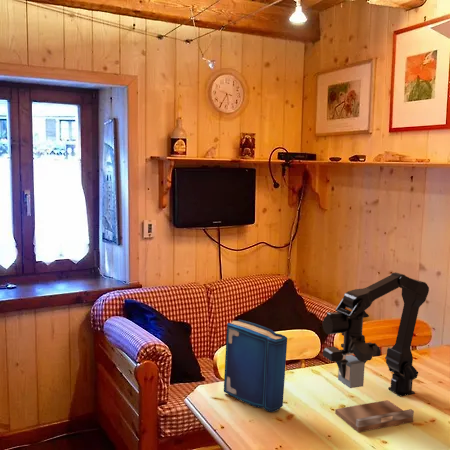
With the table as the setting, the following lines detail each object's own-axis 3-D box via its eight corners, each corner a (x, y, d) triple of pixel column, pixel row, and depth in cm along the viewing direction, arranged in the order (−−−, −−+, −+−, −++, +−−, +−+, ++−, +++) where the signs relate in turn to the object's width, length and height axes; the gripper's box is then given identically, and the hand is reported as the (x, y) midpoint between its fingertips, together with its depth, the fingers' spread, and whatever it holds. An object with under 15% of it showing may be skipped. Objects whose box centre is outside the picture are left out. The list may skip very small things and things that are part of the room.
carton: (350, 377, 174) (352, 354, 173) (363, 386, 168) (364, 362, 167) (337, 379, 172) (338, 356, 171) (349, 388, 166) (351, 364, 165)
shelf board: (387, 404, 170) (388, 394, 169) (413, 421, 158) (414, 411, 158) (335, 413, 162) (335, 402, 162) (358, 432, 151) (358, 421, 151)
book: (287, 409, 165) (290, 333, 162) (273, 416, 159) (276, 338, 156) (236, 387, 179) (238, 317, 176) (222, 394, 174) (224, 322, 171)
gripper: (342, 341, 157) (340, 390, 159) (393, 336, 164) (389, 383, 166) (323, 330, 167) (320, 376, 169) (371, 325, 174) (368, 369, 176)
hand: (350, 376), depth 170 cm, fingers closed on carton, 5 cm apart
